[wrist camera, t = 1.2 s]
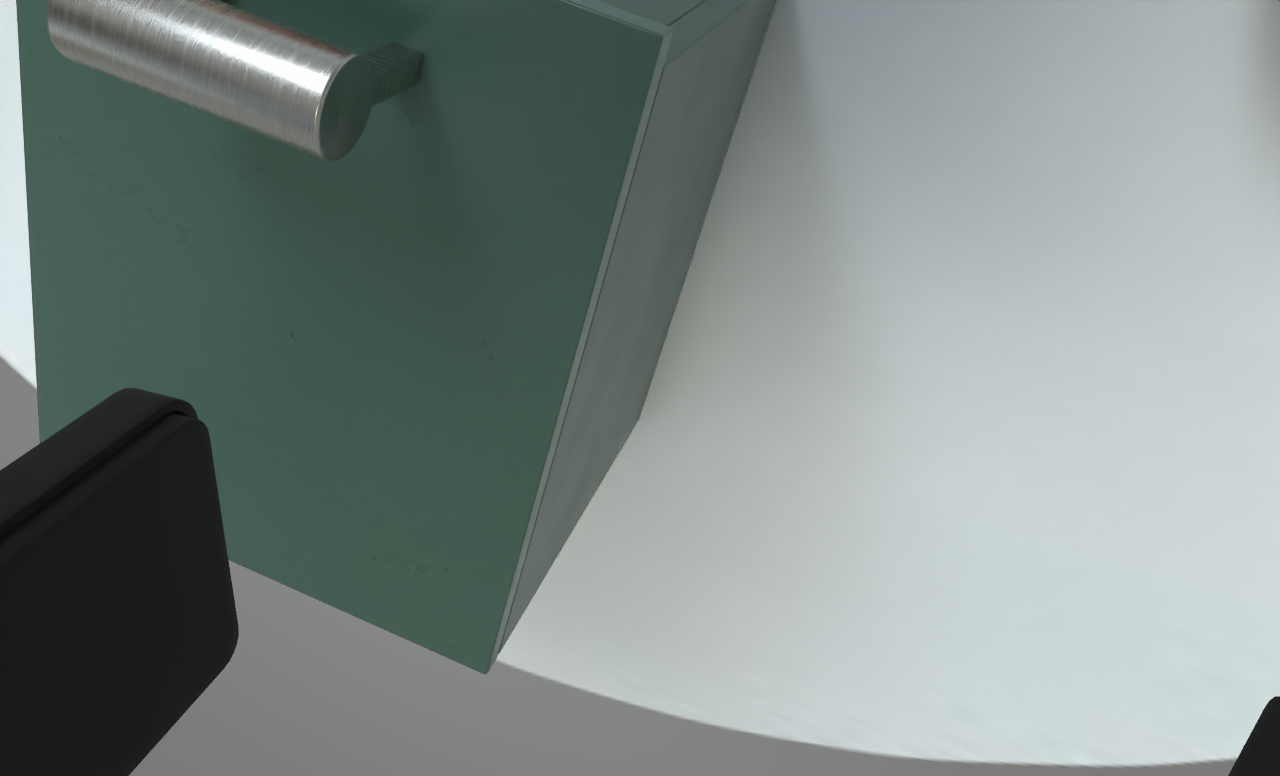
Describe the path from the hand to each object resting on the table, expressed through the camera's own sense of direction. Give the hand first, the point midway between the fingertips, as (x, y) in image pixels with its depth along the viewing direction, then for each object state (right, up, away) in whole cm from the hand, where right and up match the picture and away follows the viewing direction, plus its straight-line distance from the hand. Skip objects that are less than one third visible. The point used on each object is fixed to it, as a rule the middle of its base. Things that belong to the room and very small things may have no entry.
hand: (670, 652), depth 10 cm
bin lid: (-9, +5, +17) cm, 20 cm away
